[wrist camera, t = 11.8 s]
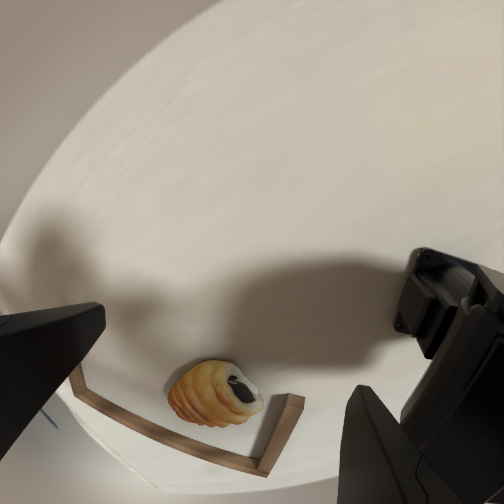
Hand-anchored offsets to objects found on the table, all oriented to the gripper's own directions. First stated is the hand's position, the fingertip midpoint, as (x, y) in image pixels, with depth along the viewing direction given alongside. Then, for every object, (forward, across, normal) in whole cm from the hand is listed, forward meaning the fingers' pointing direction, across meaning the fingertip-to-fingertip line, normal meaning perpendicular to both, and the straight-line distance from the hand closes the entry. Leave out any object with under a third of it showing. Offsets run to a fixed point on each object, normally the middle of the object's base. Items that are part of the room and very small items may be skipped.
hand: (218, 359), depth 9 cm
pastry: (+12, +2, +14) cm, 19 cm away
